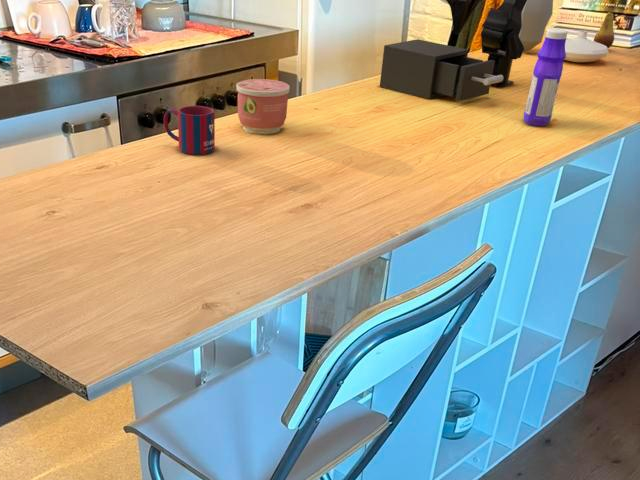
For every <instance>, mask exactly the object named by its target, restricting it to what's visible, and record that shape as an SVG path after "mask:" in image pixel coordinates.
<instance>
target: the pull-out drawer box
mask: <svg viewBox="0 0 640 480" xmlns="http://www.w3.org/2000/svg"><path fill="white" fill-rule="evenodd" d="M487 60H488V59H487ZM487 60H483V59H478V58H475V57H470V56H467V57H465V56H456V57H451V58H446V59H441V60H437V65H436V72H435V78H434V85H433V91H432V92H435V93H439V94H443V95H444V96H447V97H451V98H455V101H456V102H464V101H467V100H470V99H475V98H478V97H482V96H485V95H489V94H490V89H491V85H490V84H494V83H498V82H502V81H503V75H498V76H494V75H492V74H493V69H494V64H495V61H494V60H488V61H487Z"/></svg>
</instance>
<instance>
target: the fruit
mask: <svg viewBox="0 0 640 480" xmlns="http://www.w3.org/2000/svg"><path fill="white" fill-rule="evenodd" d="M616 6H617V3H615V4H614V5H613V7H612V9H611V10H610V11H608V12H607V13H606V14H605V17H604V19H603V21H602V24H601V26H600V28H599V30H598V31H597V33H595V36H594V38H593V41H595V42H597V43H600V44H603V45H605V46H607V48H608V49H609V48H611V47H612V46H613V43H614V42H615V32H614V13H613V10H614V8H615V7H616Z"/></svg>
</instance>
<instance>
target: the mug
mask: <svg viewBox="0 0 640 480" xmlns="http://www.w3.org/2000/svg"><path fill="white" fill-rule="evenodd" d="M170 113H172V114H174V115H175V116H177V128H178V129H177V131H178V132H177V133H178V135H175V133H173V132H172V131H171V129H170V127H169V123H168V121H169V120H168V118H169V114H170ZM215 115H216V113H215V109H214V108H212V107H209V106H204V105H186V106H182V107H180V108H178V109H174V108H173V109H172V108H171V109H168V110H166V111H165V113H164V115H163V126H164V129H165V130H164V131H165V133H167V135H168V136H169V137H170V138H172V140H174V141H176V142H178V150H179V152H181V153H183V154H186V155H193V156H202V155H208V154H211V153H213V152H214V151H215V146H216V144H215V143H216V141H215V136H216V135H215V134H216V133H215V127H216V126H215V124H216V123H215V121H216V120H215V117H216V116H215Z"/></svg>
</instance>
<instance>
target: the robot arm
mask: <svg viewBox="0 0 640 480" xmlns="http://www.w3.org/2000/svg"><path fill="white" fill-rule="evenodd" d="M444 1H446V3H447V5H448V6H449V7H450V13H451V20H452V27H453V34H456V35H457V34H458V35H459V34H460V33H461V32H462V30H463V28H464V27H465V25H466V23H467V22H468V20H469V18H470V16H471V15H472V13H473V12H474V11H475V9H476V7H477V6H478V5H479V3H480V2H482V0H444ZM526 2H527V0H503V1H502V3H501V4H500V5H499V6H498V7H497V8H493V7H491V8H490V9H489V11H488V12H487V15H486V17H485V20H484V22H483V23H482V25H481V27H482V28H481V32H480V37H481V38H480V40H481V53H482V54H487V60H486V61H488V60H494V61H495V64H494V69H493V74H492V75H494V76H498V75H503V81H502V82H498V83H494V84H490V86H492V87H497V88H502V87H506V86H510V85H513V84H514V81H513V80H510V75H511V69H512V65H513V60H517V59H520V58H522V55H523V53H524V52H523V51H524V47H523V45H522V42H521V40H520V38H519V33H520V30H521V28H522V10H523V8H524V6H525V4H526Z"/></svg>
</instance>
